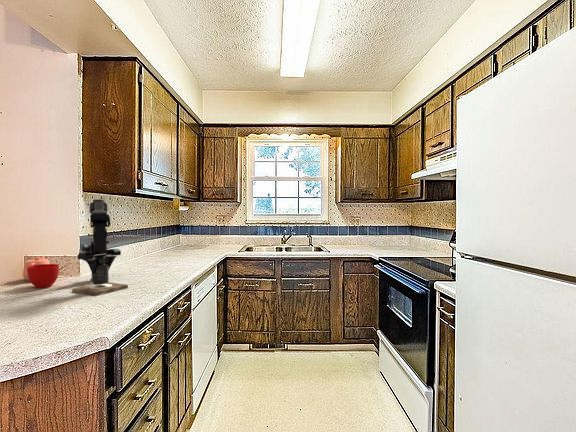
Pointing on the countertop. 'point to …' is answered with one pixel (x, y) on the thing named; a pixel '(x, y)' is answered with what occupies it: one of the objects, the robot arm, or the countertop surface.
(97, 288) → the walnut board
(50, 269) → the ceramic cup
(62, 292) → the countertop surface
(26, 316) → the countertop surface
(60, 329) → the countertop surface
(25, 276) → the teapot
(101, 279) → the supplement bottle
